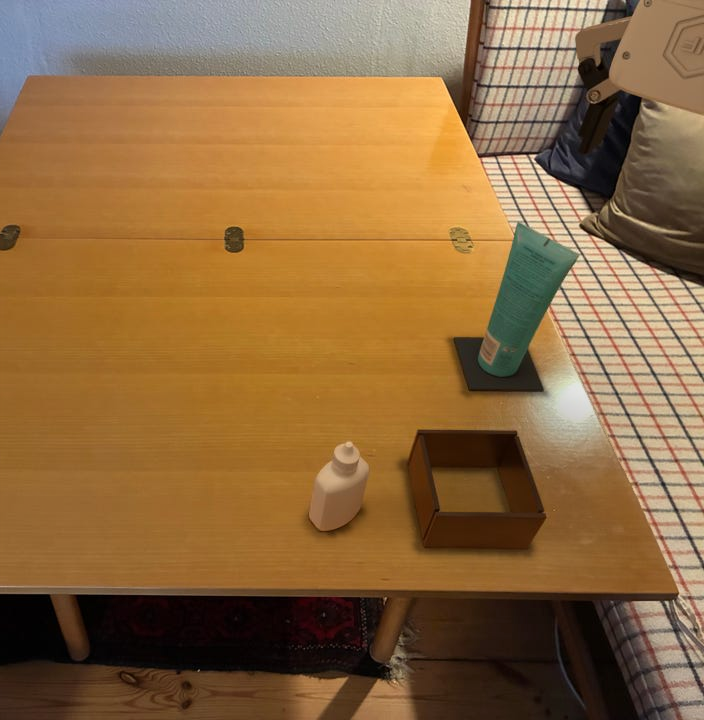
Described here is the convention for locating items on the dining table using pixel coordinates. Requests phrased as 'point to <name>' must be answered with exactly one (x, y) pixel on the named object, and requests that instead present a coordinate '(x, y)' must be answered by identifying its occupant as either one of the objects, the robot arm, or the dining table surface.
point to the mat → (485, 381)
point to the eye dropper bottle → (339, 488)
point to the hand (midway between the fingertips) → (649, 169)
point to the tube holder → (475, 526)
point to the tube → (523, 298)
